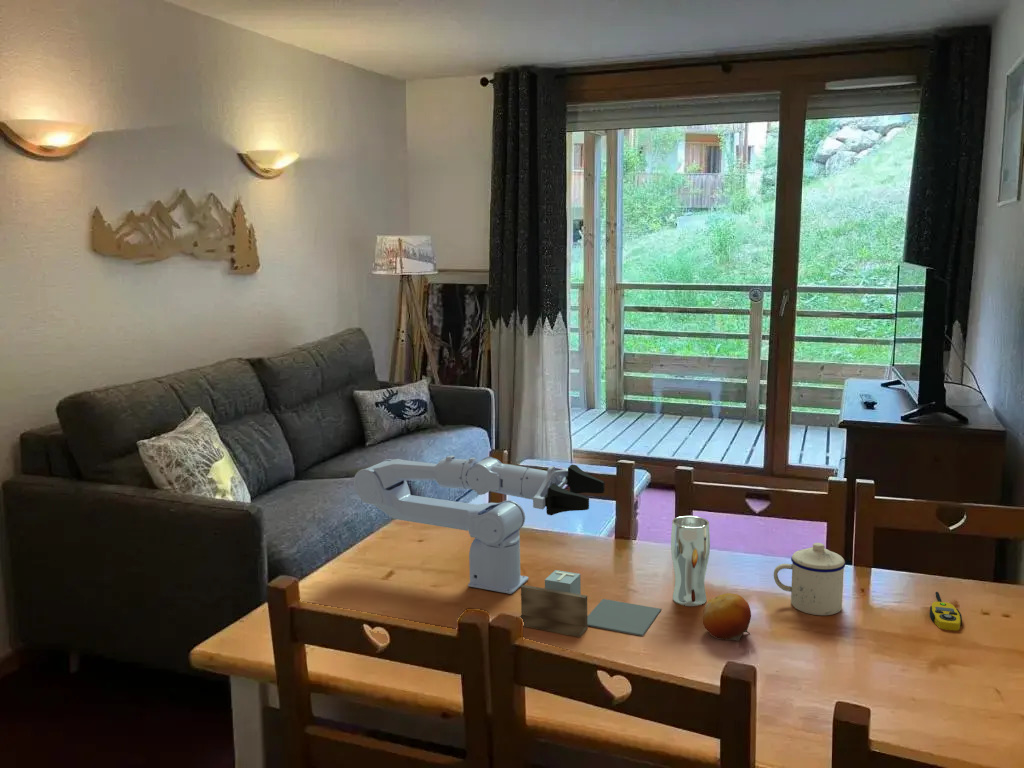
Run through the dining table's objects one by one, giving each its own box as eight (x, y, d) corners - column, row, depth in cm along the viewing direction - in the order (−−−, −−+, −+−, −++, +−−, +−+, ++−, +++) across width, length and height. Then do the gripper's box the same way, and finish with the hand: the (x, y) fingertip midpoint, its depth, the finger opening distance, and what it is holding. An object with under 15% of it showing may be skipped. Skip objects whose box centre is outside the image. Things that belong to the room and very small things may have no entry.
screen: (515, 624, 150) (514, 592, 148) (523, 616, 153) (523, 584, 152) (580, 637, 144) (579, 603, 143) (587, 628, 147) (587, 595, 146)
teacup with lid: (842, 598, 157) (845, 537, 155) (844, 619, 149) (847, 555, 147) (773, 591, 161) (775, 531, 159) (771, 611, 153) (774, 549, 151)
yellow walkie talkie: (934, 619, 145) (922, 585, 159) (933, 630, 145) (922, 594, 159) (966, 623, 143) (951, 588, 157) (965, 634, 144) (951, 597, 158)
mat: (581, 624, 149) (581, 623, 149) (602, 600, 159) (602, 598, 159) (642, 636, 144) (642, 634, 144) (661, 610, 154) (661, 608, 154)
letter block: (545, 605, 157) (544, 578, 156) (555, 595, 162) (555, 568, 161) (570, 610, 155) (570, 582, 154) (580, 599, 160) (580, 572, 159)
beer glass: (709, 608, 154) (710, 528, 152) (669, 606, 156) (670, 527, 153) (708, 593, 161) (709, 516, 158) (670, 590, 162) (671, 514, 160)
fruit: (754, 643, 138) (729, 598, 139) (712, 657, 142) (689, 612, 143) (768, 624, 145) (744, 580, 146) (728, 637, 149) (705, 595, 150)
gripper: (510, 477, 153) (580, 490, 148) (544, 449, 166) (610, 460, 160) (511, 513, 156) (581, 527, 150) (544, 483, 168) (610, 495, 162)
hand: (596, 495), depth 155 cm, fingers open, 7 cm apart
